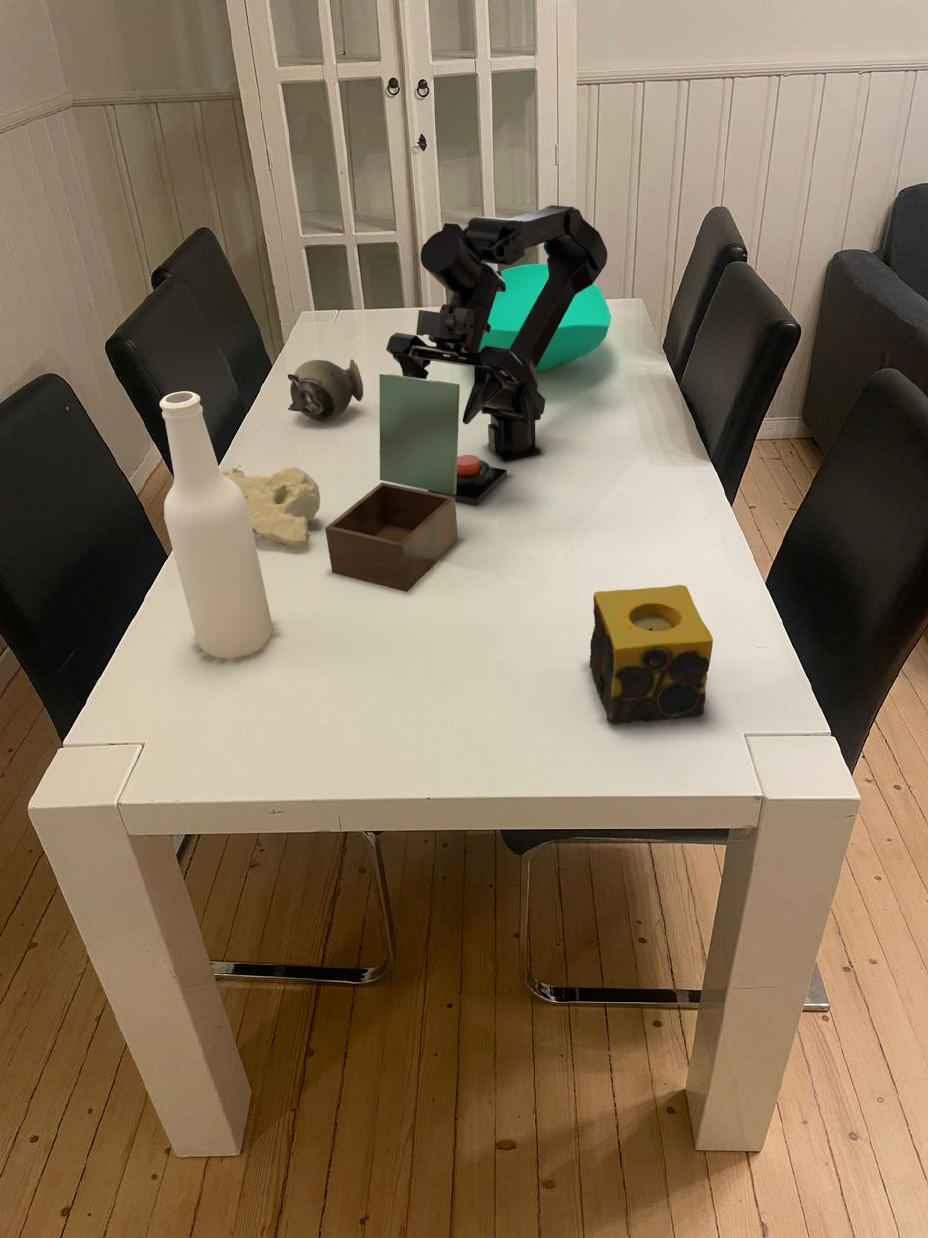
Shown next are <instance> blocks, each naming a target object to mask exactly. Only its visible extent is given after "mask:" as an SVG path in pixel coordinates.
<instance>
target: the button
mask: <svg viewBox="0 0 928 1238" xmlns="http://www.w3.org/2000/svg"><path fill="white" fill-rule="evenodd" d="M479 460H480V458H479V457H478V456H477V455H473V454H463V455H459V456H457V474H460V475H472V474H475V473H478V472H479V471H480V466H479Z"/></svg>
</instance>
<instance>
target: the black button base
mask: <svg viewBox="0 0 928 1238" xmlns="http://www.w3.org/2000/svg"><path fill="white" fill-rule="evenodd" d="M479 466H480V471H479V472H478V473H475V474H472V475H460V474H457V483H456V494H455V495H451V494H446V493H441V492H436V491H431V490H427V492H431V493H436V494H441V495H446V496H450V497H455V503H458V504H463V505H467V506H473V507H478V506H479V505H480V504H481V503H483V501H484V500H485V499H486V498H487V497H488V496H489V495H491V493H492V492H494V490H495V489H496V488H497V487H499V486H500V485H501V484H502V483H503V482H504V481H505V480H506V479H507V478H508V470H507V469H504V468H499V467H492V466H490V464H489V463H487V462H486V461H485V460H482V459H479Z"/></svg>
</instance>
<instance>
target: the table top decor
mask: <svg viewBox="0 0 928 1238" xmlns="http://www.w3.org/2000/svg"><path fill="white" fill-rule="evenodd" d="M501 275H502V278H503V280H504V282H505V285H506V291H505V292H498V291H497V294H496V297H495V300H494V303H493V307H492V310H491V313H490V316H489V319H488V323H489V324H490V325H491V329H490V333H484V335H483V339H482V342H481V345H480V348H479V352H481V349H482V348H484V347H485V346H493V347H500V348H507V349H509V348H510V347H511V345H512V343H513V341H514V339H515V338H516V336H517V334H518V332H519V330H520V328H521V327H522V325H523V323H524V321H525V319H526V317H527V316H528V314H529V312H530V310H531V308H532V307H533V305H534V303H535V301H536V299H537V297H538V296H539V294H540V292H541V290H542V288H543V286H544V285H545V283H546V281H547V279H548V277H549V273H548V265H547V263H534V264H532V263H531V264H521V265H518V266H513V267H510V268H506V269H504V270H501ZM611 320H612V316H611V312H610V308H609V307H608V304H607V302H606V300H605V297H604V295H603V292H602V291H601V289H600V288H599V287H598V285H596V283H595V282H594V283H593V284H592V285H591V286H589V287H587V288H586V289H584V290H582V291H581V292H579V293H577V294H576V295H575V297H574V298H573V300H572V302H571V304H570V306H569V308H568V310H567V311H566V313H565V315H564V317H563V319H562V321H561V323H560V324H559V326H558V328H557V330H556V332H555V334H554V336H553V337H552V339H551V341H550V343H549V345H548V347H547V349H546V351H545V352H544V354H543V356H542V358H541V360H540V362H539V364H538V366H537V368H536V372H537V373H542V372H547V371H549V370H552V369H553V368H555V367H557V366H559V365H565V364H567V363H573V362H574V361H576V360H578V359H580V358H581V359H582V358H583V357H585V356H587V355H588V354H590V353H591V352H592V351H594V350H595V349H597V347H599V346H600V345H601V344H602V342H603V341H604V340H605V338H606V337H607V334H608V331H609V328H610V324H611Z"/></svg>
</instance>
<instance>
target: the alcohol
mask: <svg viewBox="0 0 928 1238" xmlns="http://www.w3.org/2000/svg"><path fill="white" fill-rule="evenodd" d="M200 403H201V396H200V395H199V394H197V393H195V392H194V391H193V392H192V391H176V392H172V393H169V394H167V395H165V396H164V397H163V398H162V399H161V400H160V401H159V407H160V408H161V409H162V412H161V417H162V419H163V420H164V423H165V430H166V434H167V439H168V440H167V441H168V447H169V452H170V453H169V454H170V458H171V464H172V465H171V466H172V471H173V483H172V485H171V487H170V489H169V491H168V493H167V494H166V497H165V499H164V503H163V509H164V510H163V517H164V522H165V526H166V529H167V533H168V537H169V540H170V545H171V549H172V552H173V556H174V559H175V564H176V567H177V571H178V575H179V577H180V578H179V579H180V581H181V585H182V586H181V587H182V589H183V593H184V597H185V600H186V604H187V608H188V611H189V615H190V619H191V622H192V627H193V630H194V634H195V638H196V643H197V645H198V646H199V648H200V649H202V651H204V652H206V654H208V655H210V656H211V657H214V658H218V659H223V660H232V659H239V658H244V657H247V656H250V655H252V654H254V653H255V652H256V653H257V652H258V651H259V650H261V649H262V648H263V647H264V646H265V645H266V644H267V642H268V641H269V639H270V637H271V634H272V632H273V622H272V617H271V612H270V607H269V602H268V598H267V593H266V588H265V583H264V578H263V573H262V569H261V564H260V559H259V554H258V550H257V545H256V541H255V535H254V530H253V529H252V525H251V520H250V516H249V511H248V506H247V502H246V500H245V498H244V496H243V494H242V492H241V490H240V488H239V487H238V486H237V485H236V484H235V483H234V482H233V481H232V480H230V479H229V478H227V477H226V476H225V475H223V473H222V472H223V471H222V470H221V469H220V466H219V463H218V460H217V457H216V453H215V450H214V447H213V444H212V441H211V438H210V434H209V431H208V428H207V424H206V422H205V419H204V416H203V412H204V409H203V406H202V405H201V404H200Z"/></svg>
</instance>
